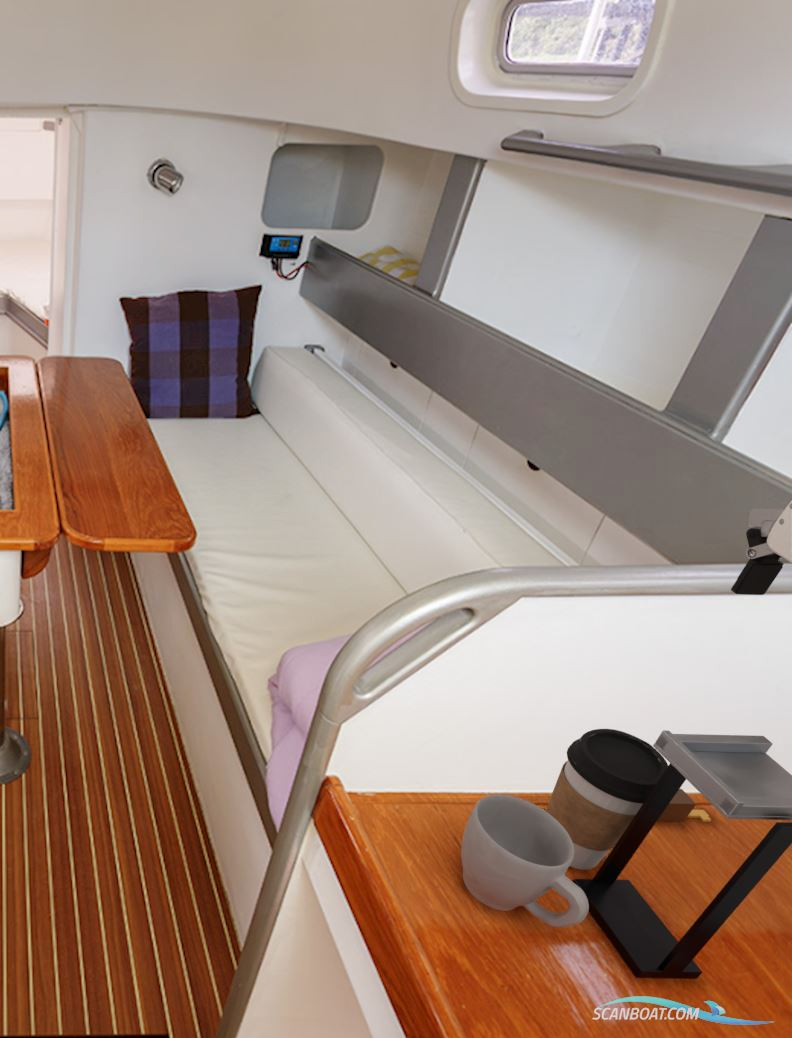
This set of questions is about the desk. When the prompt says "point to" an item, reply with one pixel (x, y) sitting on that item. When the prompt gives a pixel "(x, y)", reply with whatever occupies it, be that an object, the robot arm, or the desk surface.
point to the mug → (519, 859)
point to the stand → (636, 922)
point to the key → (682, 809)
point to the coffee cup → (603, 790)
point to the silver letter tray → (732, 773)
